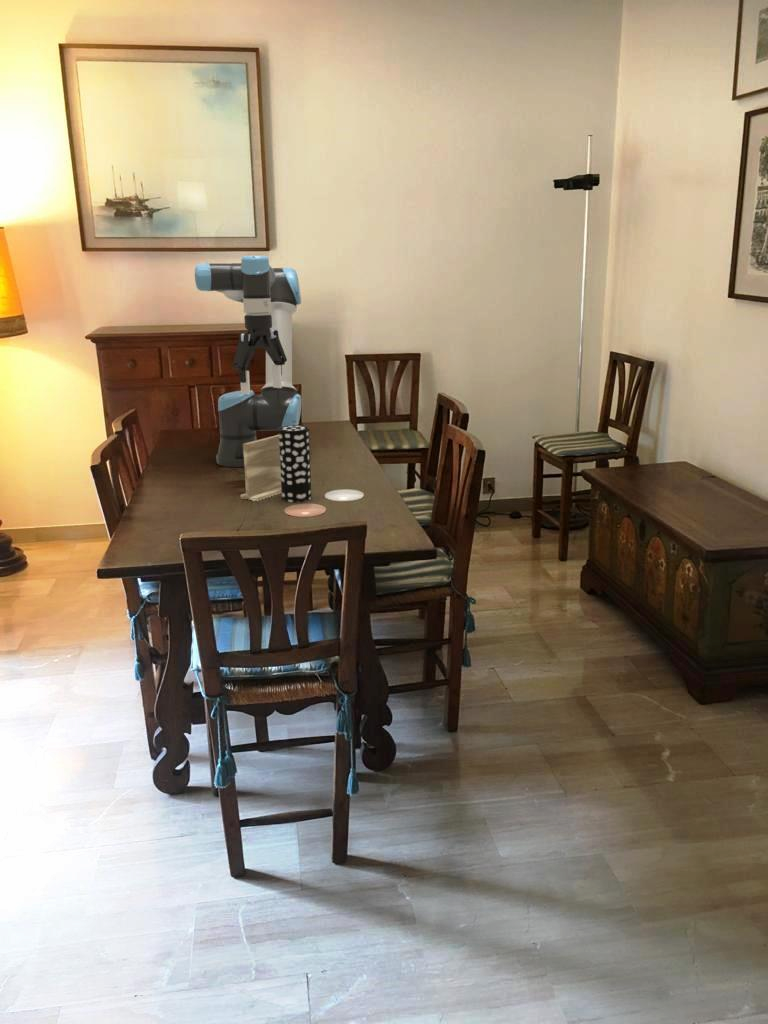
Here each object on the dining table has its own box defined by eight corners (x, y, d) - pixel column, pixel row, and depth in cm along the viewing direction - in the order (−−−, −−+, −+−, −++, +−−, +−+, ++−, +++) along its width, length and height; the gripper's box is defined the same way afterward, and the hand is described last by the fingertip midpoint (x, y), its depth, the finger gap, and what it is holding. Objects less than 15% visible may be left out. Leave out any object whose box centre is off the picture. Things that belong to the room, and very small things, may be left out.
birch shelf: (240, 498, 230) (237, 442, 225) (283, 484, 244) (281, 431, 239) (256, 501, 226) (253, 445, 221) (298, 487, 240) (296, 433, 235)
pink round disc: (276, 512, 216) (276, 511, 216) (303, 502, 225) (303, 501, 225) (307, 519, 210) (307, 518, 210) (334, 509, 219) (334, 507, 219)
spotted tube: (316, 495, 232) (313, 426, 226) (304, 503, 224) (301, 432, 218) (289, 492, 234) (286, 424, 228) (276, 500, 227) (273, 430, 221)
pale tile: (316, 497, 230) (316, 496, 229) (340, 488, 238) (340, 487, 238) (347, 503, 224) (347, 502, 223) (371, 494, 232) (371, 493, 232)
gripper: (236, 317, 213) (241, 398, 219) (297, 311, 233) (299, 386, 239) (215, 316, 217) (221, 395, 223) (276, 311, 237) (280, 384, 243)
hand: (262, 391), depth 231 cm, fingers open, 13 cm apart
